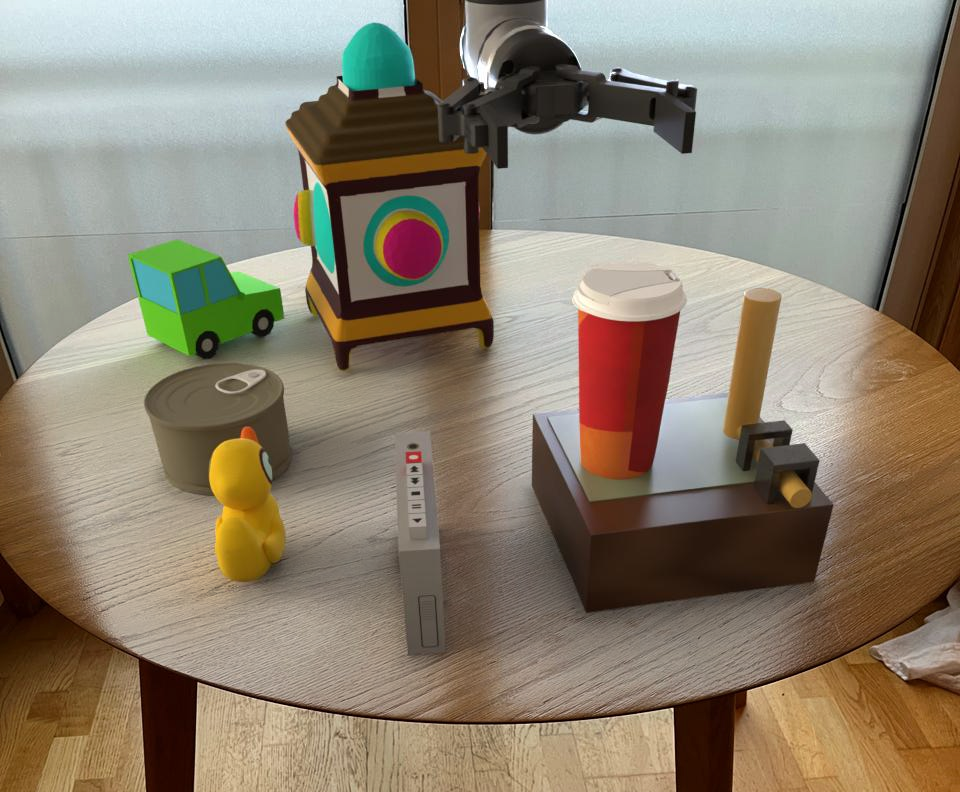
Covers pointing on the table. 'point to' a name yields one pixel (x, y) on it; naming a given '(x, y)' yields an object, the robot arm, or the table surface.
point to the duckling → (245, 509)
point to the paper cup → (624, 363)
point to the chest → (680, 510)
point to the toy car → (200, 298)
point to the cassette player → (419, 544)
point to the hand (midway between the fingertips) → (597, 140)
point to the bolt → (757, 380)
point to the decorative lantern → (386, 205)
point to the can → (216, 418)
